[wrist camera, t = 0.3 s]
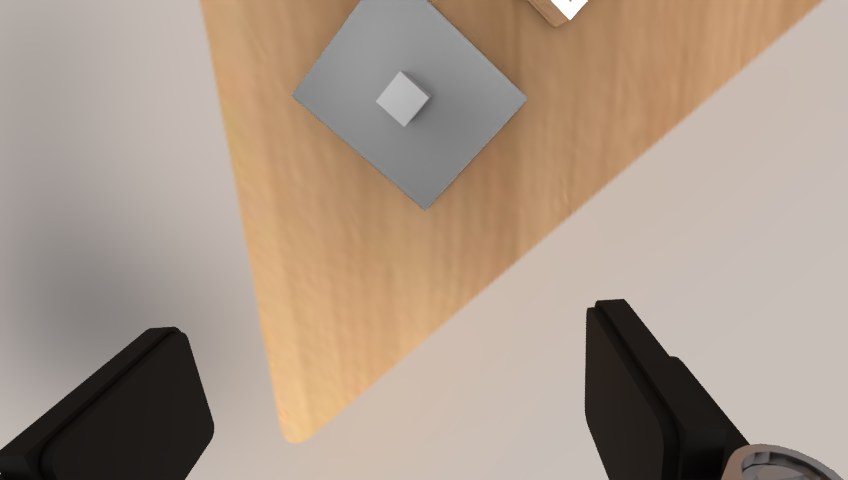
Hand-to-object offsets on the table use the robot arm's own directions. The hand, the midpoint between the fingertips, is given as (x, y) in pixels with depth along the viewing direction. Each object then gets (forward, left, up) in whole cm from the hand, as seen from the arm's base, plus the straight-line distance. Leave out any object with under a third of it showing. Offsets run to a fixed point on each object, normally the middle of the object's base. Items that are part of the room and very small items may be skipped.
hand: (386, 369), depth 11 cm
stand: (-2, -5, -30) cm, 30 cm away
